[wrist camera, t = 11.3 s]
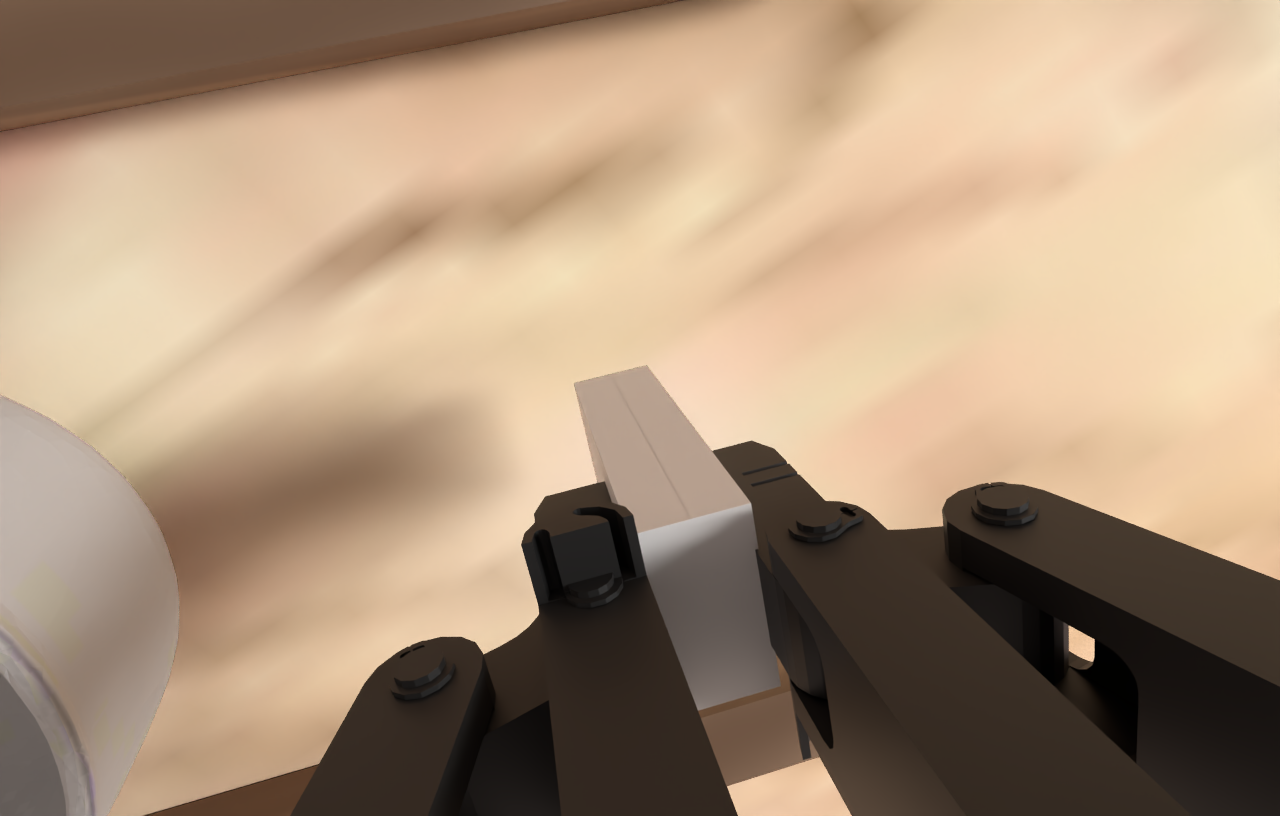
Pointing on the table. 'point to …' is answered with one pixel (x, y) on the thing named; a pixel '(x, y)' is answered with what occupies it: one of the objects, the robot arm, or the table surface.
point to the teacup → (75, 620)
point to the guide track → (268, 49)
